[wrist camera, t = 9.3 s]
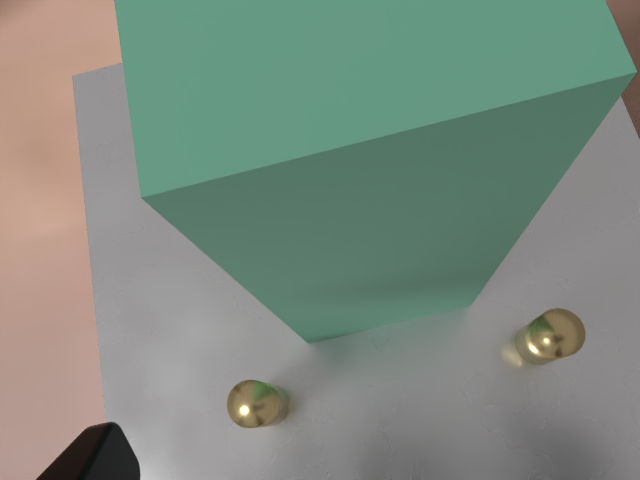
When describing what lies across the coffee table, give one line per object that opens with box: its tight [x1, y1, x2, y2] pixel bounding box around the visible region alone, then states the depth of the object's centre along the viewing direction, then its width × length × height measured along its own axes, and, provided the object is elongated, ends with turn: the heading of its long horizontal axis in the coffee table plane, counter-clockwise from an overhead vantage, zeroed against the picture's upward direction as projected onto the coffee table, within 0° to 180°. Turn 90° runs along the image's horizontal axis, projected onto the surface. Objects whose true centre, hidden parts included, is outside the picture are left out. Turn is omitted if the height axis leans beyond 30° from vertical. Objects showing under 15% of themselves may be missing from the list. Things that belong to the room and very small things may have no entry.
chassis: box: [72, 63, 640, 480], centre depth 18 cm, size 18×18×4 cm
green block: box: [114, 0, 637, 344], centre depth 12 cm, size 5×5×12 cm
